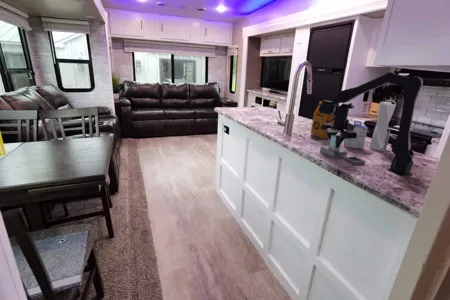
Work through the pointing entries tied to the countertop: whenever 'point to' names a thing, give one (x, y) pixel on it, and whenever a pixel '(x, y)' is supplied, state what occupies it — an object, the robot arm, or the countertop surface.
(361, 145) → the ink cartridge box
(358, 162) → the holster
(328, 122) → the coffee package
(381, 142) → the skyscraper
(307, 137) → the countertop surface
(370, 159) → the countertop surface
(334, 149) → the plug
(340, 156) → the socket
